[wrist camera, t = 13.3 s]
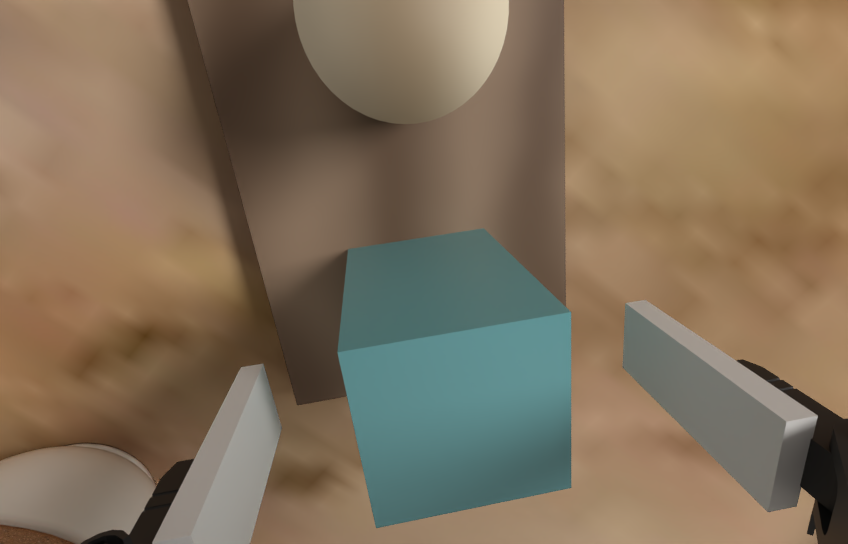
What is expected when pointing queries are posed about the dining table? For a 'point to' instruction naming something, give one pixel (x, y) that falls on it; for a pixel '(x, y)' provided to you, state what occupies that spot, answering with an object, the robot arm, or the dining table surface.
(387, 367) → the teal rectangular block
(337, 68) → the cream smooth rounded part
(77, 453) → the lidded jar
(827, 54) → the dining table surface
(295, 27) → the base board
